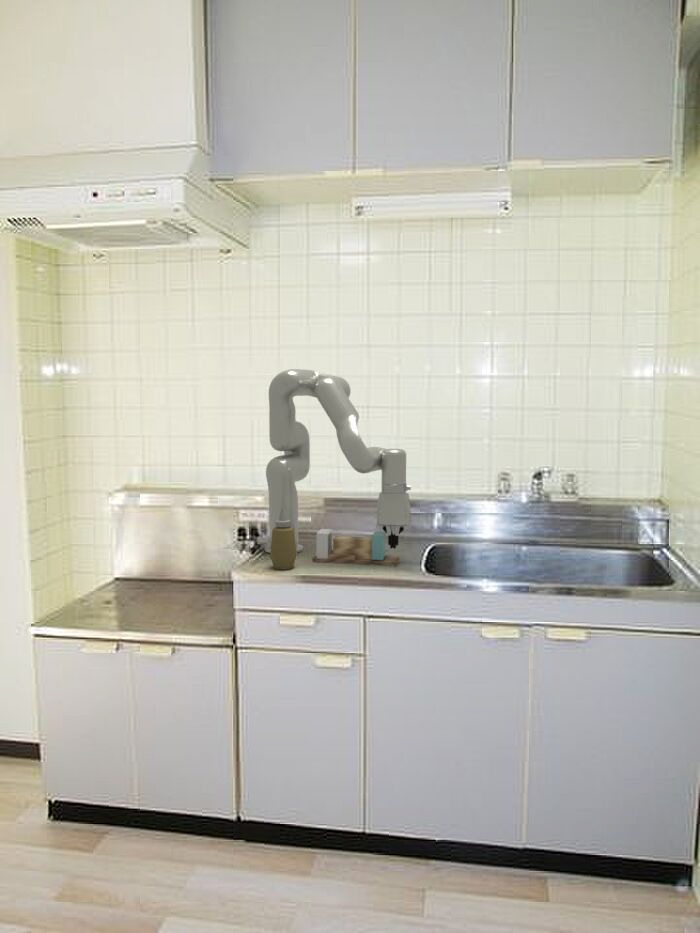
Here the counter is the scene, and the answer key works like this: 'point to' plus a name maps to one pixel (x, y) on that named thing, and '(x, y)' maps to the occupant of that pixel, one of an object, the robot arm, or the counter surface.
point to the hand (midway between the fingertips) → (393, 547)
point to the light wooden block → (353, 546)
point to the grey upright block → (324, 543)
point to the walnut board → (351, 559)
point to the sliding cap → (378, 545)
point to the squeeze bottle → (283, 543)
